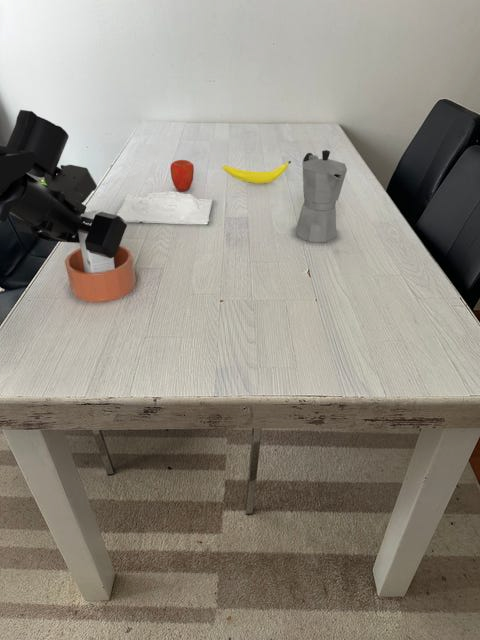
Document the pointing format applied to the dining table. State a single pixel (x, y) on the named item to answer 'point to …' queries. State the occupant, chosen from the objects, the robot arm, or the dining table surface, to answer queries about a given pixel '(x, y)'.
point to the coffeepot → (320, 197)
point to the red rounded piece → (182, 174)
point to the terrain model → (166, 208)
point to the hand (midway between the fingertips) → (101, 244)
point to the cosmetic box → (90, 260)
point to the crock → (101, 277)
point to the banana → (256, 174)
